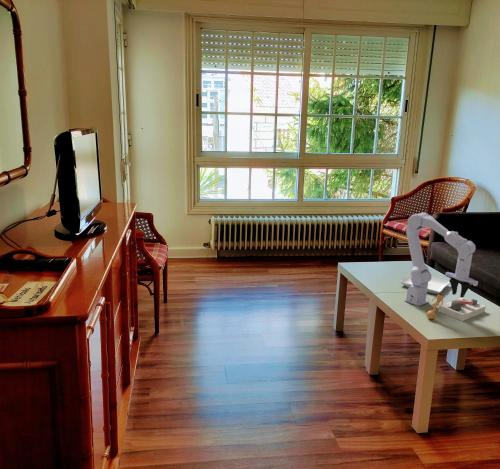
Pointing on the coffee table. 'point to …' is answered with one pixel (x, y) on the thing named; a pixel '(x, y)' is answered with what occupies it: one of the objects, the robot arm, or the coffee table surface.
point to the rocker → (465, 301)
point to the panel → (462, 310)
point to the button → (456, 305)
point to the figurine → (431, 313)
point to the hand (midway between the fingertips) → (458, 295)
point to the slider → (474, 302)
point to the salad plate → (433, 285)
